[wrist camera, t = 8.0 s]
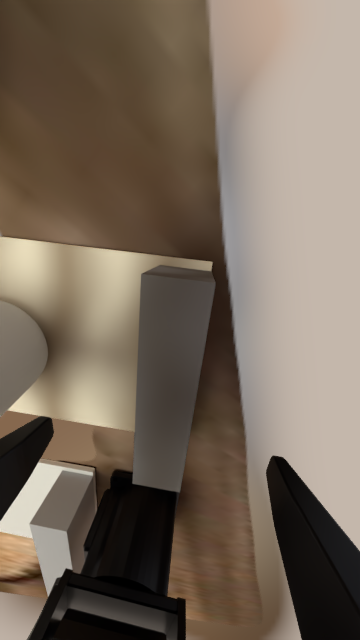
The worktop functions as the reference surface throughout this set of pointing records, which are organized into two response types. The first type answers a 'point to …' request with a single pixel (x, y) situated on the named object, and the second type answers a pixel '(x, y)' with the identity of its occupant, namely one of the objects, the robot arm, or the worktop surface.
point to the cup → (19, 354)
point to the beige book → (115, 343)
